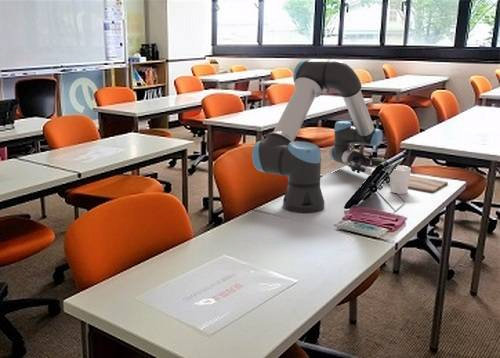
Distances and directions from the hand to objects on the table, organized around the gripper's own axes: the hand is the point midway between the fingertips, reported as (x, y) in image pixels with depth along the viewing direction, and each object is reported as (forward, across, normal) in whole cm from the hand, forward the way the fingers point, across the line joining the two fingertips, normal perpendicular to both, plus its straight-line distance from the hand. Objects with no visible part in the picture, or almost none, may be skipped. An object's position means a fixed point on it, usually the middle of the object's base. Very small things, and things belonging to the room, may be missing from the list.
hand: (384, 170), depth 211 cm
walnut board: (+6, -15, -7) cm, 17 cm away
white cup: (+10, 0, -7) cm, 12 cm away
